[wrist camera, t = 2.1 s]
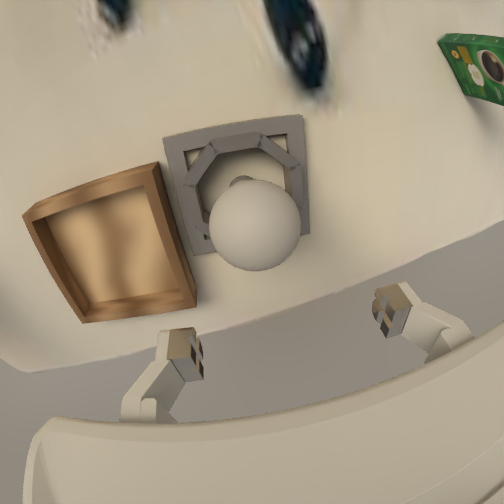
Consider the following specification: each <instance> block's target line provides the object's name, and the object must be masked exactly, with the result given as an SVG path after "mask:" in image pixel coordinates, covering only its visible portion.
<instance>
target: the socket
mask: <svg viewBox="0 0 504 504" xmlns="http://www.w3.org/2000/svg"><path fill="white" fill-rule="evenodd" d="M277 134H285V137H286V147H287V152H286V151H285V150H284V149H282V148H281V147H280V146H278V145H277V144H276V143H274V142H273V141H272V140H270V139H269V138H268V137H266V136H269V135H277ZM162 140H163V144H164V148H165V152H166V157H167V161H168V165H169V169H170V173H171V177H172V180H173V184H174V188H175V192H176V196H177V199H178V203H179V207H180V210H181V214H182V217H183V221H184V224H185V228H186V231H187V235H188V238H189V241H190V245H191V248H192V251H193V255H194V256H195V255H200V254H205V253H210V252H215V251H217V250H216V249H215V247H214V245H213V242H212V240H211V237H210V232H209V218H210V213H208V212H206V211H205V210H203V205H202V201H201V197H200V193H199V189H198V184H197V183H198V181H199V180H200V178H201V177H202V175H203V174H204V172H205V171H206V170H207V168H208V167H209V165H210V164H211V162H212V161H213V160H214V158H215V157H216V155H217V154H220V153H226V152H231V151H237V150H243V149H249V148H255V147H260V148H261V149H262V150H264V151H265V152H267V153H268V154H269V155H271V156H272V157H273V158H275V159H276V160H278V161H279V162H280V163H282V164H283V170H284V180H285V190H286V192H287V193H288V194H289V195H290V197H291V198H292V199H293V200H294V202H295V204H296V206H297V208H298V211H299V215H300V220H301V231H300V235H304V234H310V226H309V201H308V183H307V167H306V153H305V140H304V129H303V118H302V115H300V114H298V115H287V116H278V117H269V118H261V119H254V120H247V121H241V122H235V123H229V124H223V125H218V126H212V127H207V128H203V129H198V130H193V131H189V132H184V133H180V134H176V135H172V136H168V137H164V138H163V139H162ZM200 147H204V148H203V149H202V150H201V152H200V153H199V155H198V156H197V158H196V159H195V161H194V162H193V164H192V165H191V167H190V168H189V170H188V165H187V161H186V156H185V152H184V151H186V150H191V149H195V148H200ZM204 234H205V235H207V236H205V235H204Z"/></svg>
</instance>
